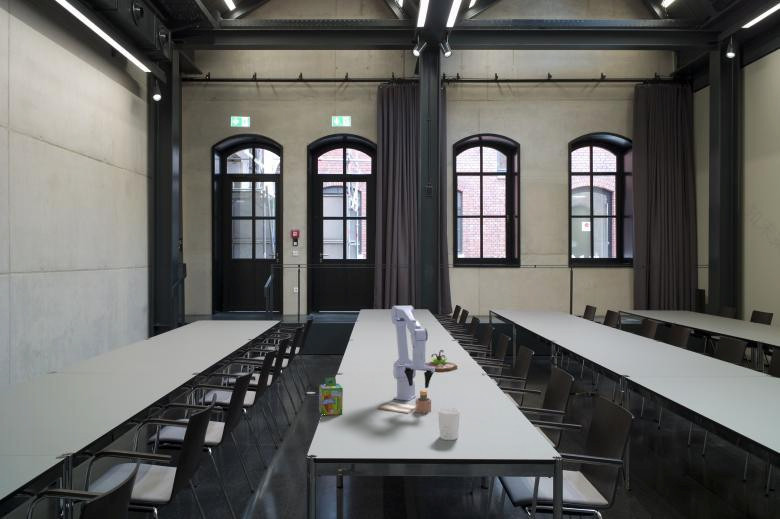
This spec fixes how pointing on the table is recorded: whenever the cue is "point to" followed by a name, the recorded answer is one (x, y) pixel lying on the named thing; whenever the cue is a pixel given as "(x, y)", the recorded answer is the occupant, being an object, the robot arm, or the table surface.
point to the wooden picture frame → (398, 407)
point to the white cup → (449, 423)
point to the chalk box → (330, 398)
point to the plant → (441, 363)
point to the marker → (423, 395)
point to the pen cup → (423, 405)
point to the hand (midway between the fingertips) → (418, 386)
